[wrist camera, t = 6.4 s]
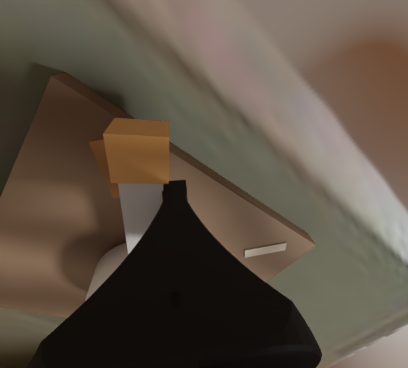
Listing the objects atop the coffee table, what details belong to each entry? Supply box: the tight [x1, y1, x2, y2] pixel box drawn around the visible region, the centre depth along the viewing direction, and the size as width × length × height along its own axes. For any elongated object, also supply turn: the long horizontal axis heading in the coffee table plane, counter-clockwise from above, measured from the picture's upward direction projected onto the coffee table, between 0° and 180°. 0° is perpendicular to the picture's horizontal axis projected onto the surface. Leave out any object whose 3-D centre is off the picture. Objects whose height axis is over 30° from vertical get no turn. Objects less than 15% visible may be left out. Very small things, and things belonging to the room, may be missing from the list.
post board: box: [0, 72, 317, 318], centre depth 15 cm, size 16×18×1 cm
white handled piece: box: [85, 118, 169, 301], centre depth 11 cm, size 14×7×3 cm, turn 174°
